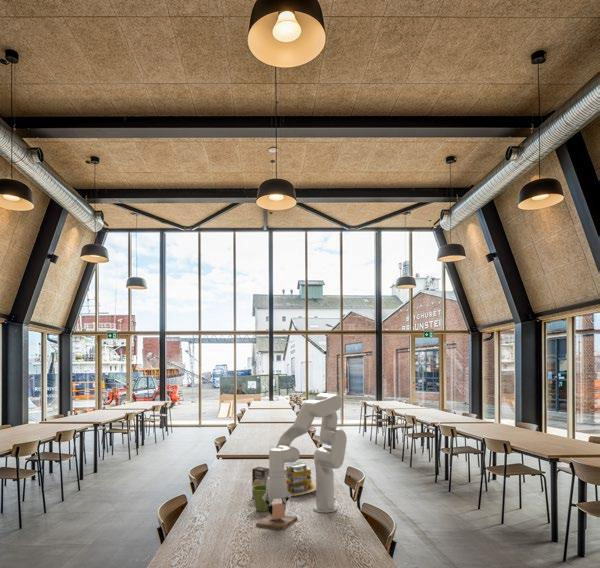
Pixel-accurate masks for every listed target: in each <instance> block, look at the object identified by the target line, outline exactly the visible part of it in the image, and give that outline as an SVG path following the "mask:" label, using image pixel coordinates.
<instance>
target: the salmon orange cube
mask: <svg viewBox="0 0 600 568" xmlns="http://www.w3.org/2000/svg"><path fill="white" fill-rule="evenodd" d="M285 515H286V510H285V504H283V503H282V500H281V501H280V500H279V501H272V514H270V513H269V512H268V516H270V517H271V518H272V519H279V518H285Z"/></svg>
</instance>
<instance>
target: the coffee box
mask: <svg viewBox="0 0 600 568" xmlns="http://www.w3.org/2000/svg"><path fill="white" fill-rule="evenodd" d="M251 470H252V472H251V474H252V476H251V477H252V479H251V481H252V482H251V484H252V486H251V490H252V491H251V492H252V493H251V495H252V496H251V498H253V499H255V498H254V493H253V489H252V487H254V486H257V485H266V484H267V478H268V477H269V467H263V466H257V467H254V468H252V469H251Z"/></svg>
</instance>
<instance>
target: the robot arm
mask: <svg viewBox="0 0 600 568" xmlns="http://www.w3.org/2000/svg"><path fill="white" fill-rule="evenodd" d="M314 399H315V400H313V399H307V400H305V401H304V402H303V403H302V405H301V406H300V407H301V408H300V409H299V412H298V413H297V416H296V418H295V420H294V421H293V424H292V425H291V426H290V427H289V428H288V429H287V430H286V431H284V433H282V435H281V436H280V438H279V439H278V442H277V444H276V447H272V448H270V449H269V452H268V466H269V467H268V468H269V477H268V478H267V484H266V493H265V494H264V496H263V497H262V499H263V500H264V501H265V502H266V503H267V504H268V510H267V511H268V514H269V513H270V514H272V502H274V500H280V499H281V502H282V503H283V504H285V511H286V505H287V502H288V501H289V500H290V498H291V497H292V494H291V493H290V492H289V491H288V490H287V482H286V477H285V474H287V471H285V470H286V469H285V464H286V463H287V464H289V463H295V462H298V460H299V459H300V456H301V453H300V451H299V449H298V448H297V447H296V446H295V447H294V446H291V444H292V442H293V441H294V440H295V439H297V438H298V437H301V436H303V435H305V434H307V433H308V432H309V431H310V428H311V426H312V424H313V421H314V419H315V418H321V425H320V430H319V441H320V443H321V444H323V445H326V446H330V447H331V448H329V447H324V446H321V447H318V448H317V449H315V451H314V452H313V453H314V454H313V462H314V467H315V468H314V469H315V482H316V490H315V500H316V502H315V505H313V507H312V508H313V511H315V512H317V513H323V514H325V513H327V514H331V513H334V512H336V511H337V510H338V506H337V505H336V504H335V501H336V500H337V498H336V497H335V485H334V484H335V477H334V476H335V475H334V474H335V473H334V470H338V469H340V468H342V466H343V465H344V462H345V455H346V448H347V443H348V442H347V441H348V439H347V434H346V432H345V430H343V429H341V428H338V419H339V418H338V414H337V411H339V410H341V408H342V405H343V399H342V398H341V396H340V395H339V394H335V393H324V392H323V393H321V392H320V393H318V394H317V395H316V396H315V398H314ZM333 469H334V470H333ZM287 494H288V495H287ZM266 497H267V498H269V499H268V500H267V499H266Z"/></svg>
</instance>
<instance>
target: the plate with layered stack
mask: <svg viewBox="0 0 600 568" xmlns="http://www.w3.org/2000/svg"><path fill="white" fill-rule="evenodd" d="M285 467H286V469H284V470H285V471H287V474H285V477H286V482H287V490H288V491H289V492H290V493H291V494H292V496H301V495H305V494H308V493H311V492H314V491H316V481H312V476H311V475H312V472H311V471H312V470H311V468H310V467H309V466H307V463H306V462H304V461H303V460H300V461H296V462H292V463H287V464H286V463H285ZM287 495H288V494H287ZM292 496H291V497H292Z"/></svg>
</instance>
